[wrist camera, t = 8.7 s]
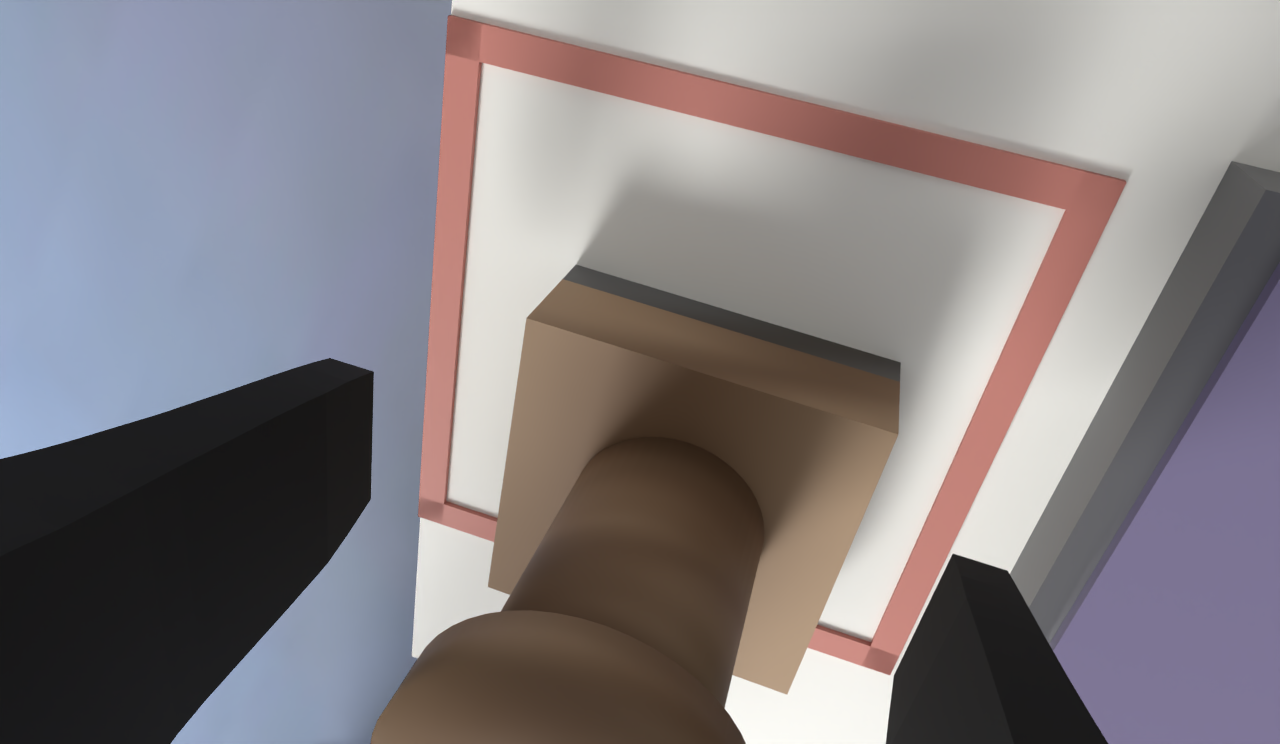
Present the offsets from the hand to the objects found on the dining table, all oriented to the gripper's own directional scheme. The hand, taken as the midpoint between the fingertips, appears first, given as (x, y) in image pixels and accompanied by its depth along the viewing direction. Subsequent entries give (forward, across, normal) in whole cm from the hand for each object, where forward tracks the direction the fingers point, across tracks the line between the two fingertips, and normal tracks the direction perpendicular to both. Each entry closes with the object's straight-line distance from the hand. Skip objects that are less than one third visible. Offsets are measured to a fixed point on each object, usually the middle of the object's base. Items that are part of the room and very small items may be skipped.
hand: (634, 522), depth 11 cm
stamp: (+4, 0, +1) cm, 4 cm away
